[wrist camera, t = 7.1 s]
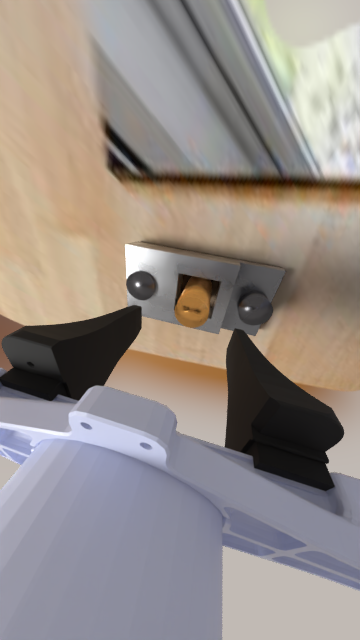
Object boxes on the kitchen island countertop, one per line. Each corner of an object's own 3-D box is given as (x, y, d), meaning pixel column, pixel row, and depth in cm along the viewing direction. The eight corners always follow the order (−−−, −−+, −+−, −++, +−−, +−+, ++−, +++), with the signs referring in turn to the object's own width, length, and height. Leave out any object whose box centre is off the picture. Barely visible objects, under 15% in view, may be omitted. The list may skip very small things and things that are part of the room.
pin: (214, 277, 19) (212, 301, 14) (208, 300, 21) (204, 330, 15) (189, 271, 20) (176, 293, 14) (185, 295, 21) (172, 323, 15)
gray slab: (281, 267, 17) (293, 276, 14) (253, 329, 22) (258, 346, 19) (138, 241, 19) (122, 244, 16) (138, 303, 24) (126, 314, 21)
